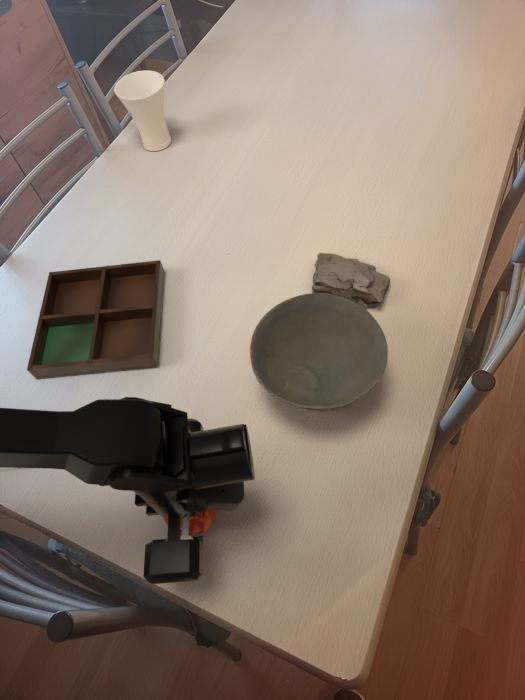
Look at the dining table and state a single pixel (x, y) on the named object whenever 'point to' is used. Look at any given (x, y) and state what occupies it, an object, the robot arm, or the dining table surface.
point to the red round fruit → (199, 522)
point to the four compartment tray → (99, 321)
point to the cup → (146, 106)
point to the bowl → (318, 351)
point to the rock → (349, 279)
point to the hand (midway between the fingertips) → (191, 513)
